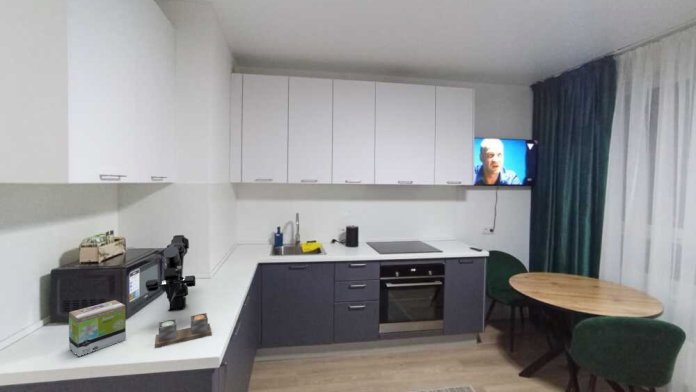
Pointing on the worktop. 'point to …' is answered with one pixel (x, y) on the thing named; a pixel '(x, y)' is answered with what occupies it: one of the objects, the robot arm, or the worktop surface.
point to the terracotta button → (199, 317)
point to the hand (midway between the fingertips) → (170, 301)
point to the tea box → (96, 327)
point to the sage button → (167, 323)
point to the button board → (182, 332)
